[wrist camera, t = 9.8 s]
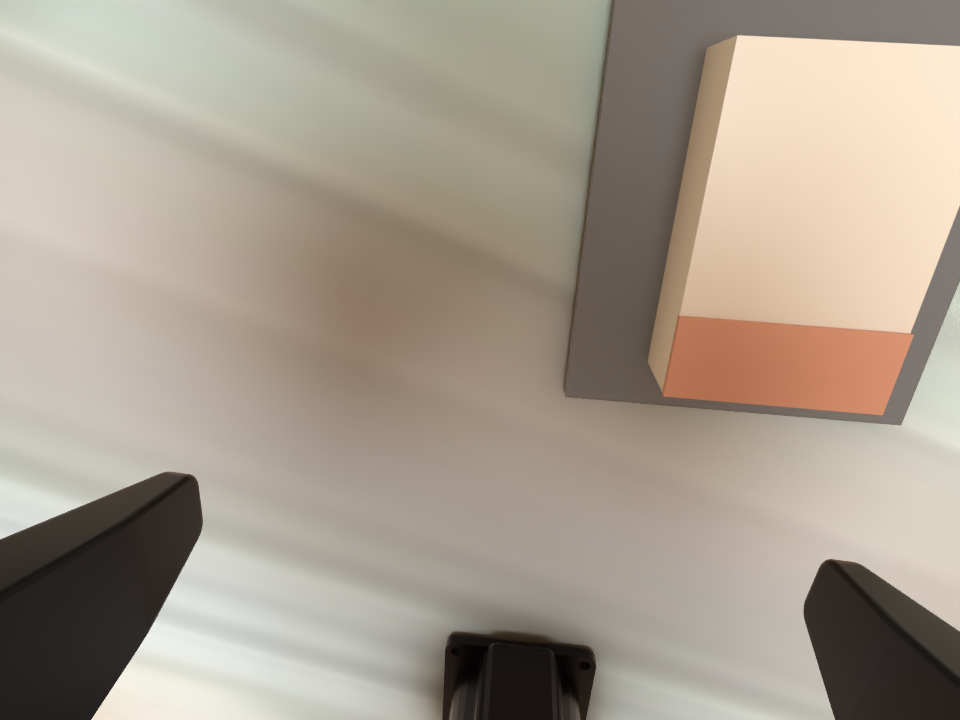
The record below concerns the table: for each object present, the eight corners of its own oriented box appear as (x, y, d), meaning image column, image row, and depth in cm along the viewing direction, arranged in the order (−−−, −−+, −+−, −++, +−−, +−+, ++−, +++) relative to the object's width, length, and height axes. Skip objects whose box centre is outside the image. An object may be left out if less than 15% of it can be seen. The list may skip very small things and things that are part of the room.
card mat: (890, 416, 19) (900, 425, 18) (564, 388, 20) (565, 396, 19) (1053, 1, 14) (1075, -4, 14) (615, -18, 15) (618, -23, 14)
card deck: (945, 60, 14) (1025, 48, 12) (837, 377, 18) (882, 415, 16) (706, 47, 15) (738, 34, 12) (647, 361, 18) (663, 396, 16)
